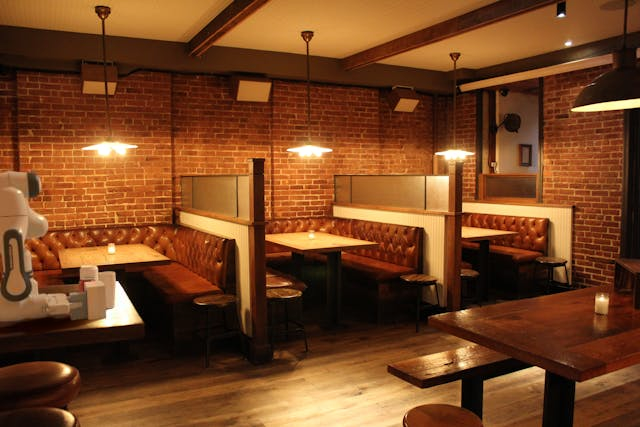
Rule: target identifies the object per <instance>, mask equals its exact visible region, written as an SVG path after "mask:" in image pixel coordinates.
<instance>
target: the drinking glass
mask: <svg viewBox="0 0 640 427" xmlns="http://www.w3.org/2000/svg"><path fill="white" fill-rule="evenodd" d="M116 277H117V276H116V272H115V271H102V272H98V281H102V282H103V284H104V285H105V298H106V310H109V309H113V308H115V306H116V302H115V300H116V286H117V285H116V283H117V281H116V280H117V279H116Z"/></svg>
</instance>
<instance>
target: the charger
mask: <svg viewBox="0 0 640 427" xmlns="http://www.w3.org/2000/svg"><path fill="white" fill-rule="evenodd" d="M69 297H70V302H69V303H76V302H82V307H77V308H74V309H70V312H69V314H70V316H69V317H70V320H71V321H76V320H77V319H78V320H85V318H86V319H88V308H87V291H83V292H79V291H75V292H69Z"/></svg>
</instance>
